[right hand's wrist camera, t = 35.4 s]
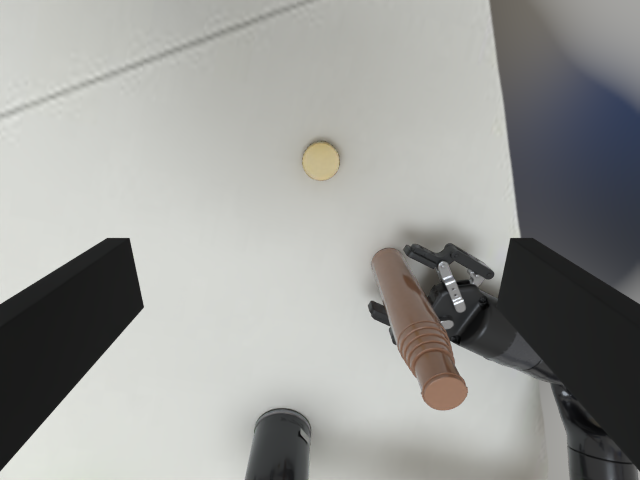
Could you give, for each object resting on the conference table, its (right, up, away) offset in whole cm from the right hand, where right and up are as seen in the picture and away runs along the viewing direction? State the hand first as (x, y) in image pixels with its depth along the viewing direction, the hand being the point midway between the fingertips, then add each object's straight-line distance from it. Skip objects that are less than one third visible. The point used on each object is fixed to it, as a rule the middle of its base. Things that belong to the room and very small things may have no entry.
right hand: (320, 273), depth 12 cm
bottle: (+9, -2, +36) cm, 37 cm away
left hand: (+8, -3, +30) cm, 31 cm away
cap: (0, +10, +29) cm, 31 cm away
